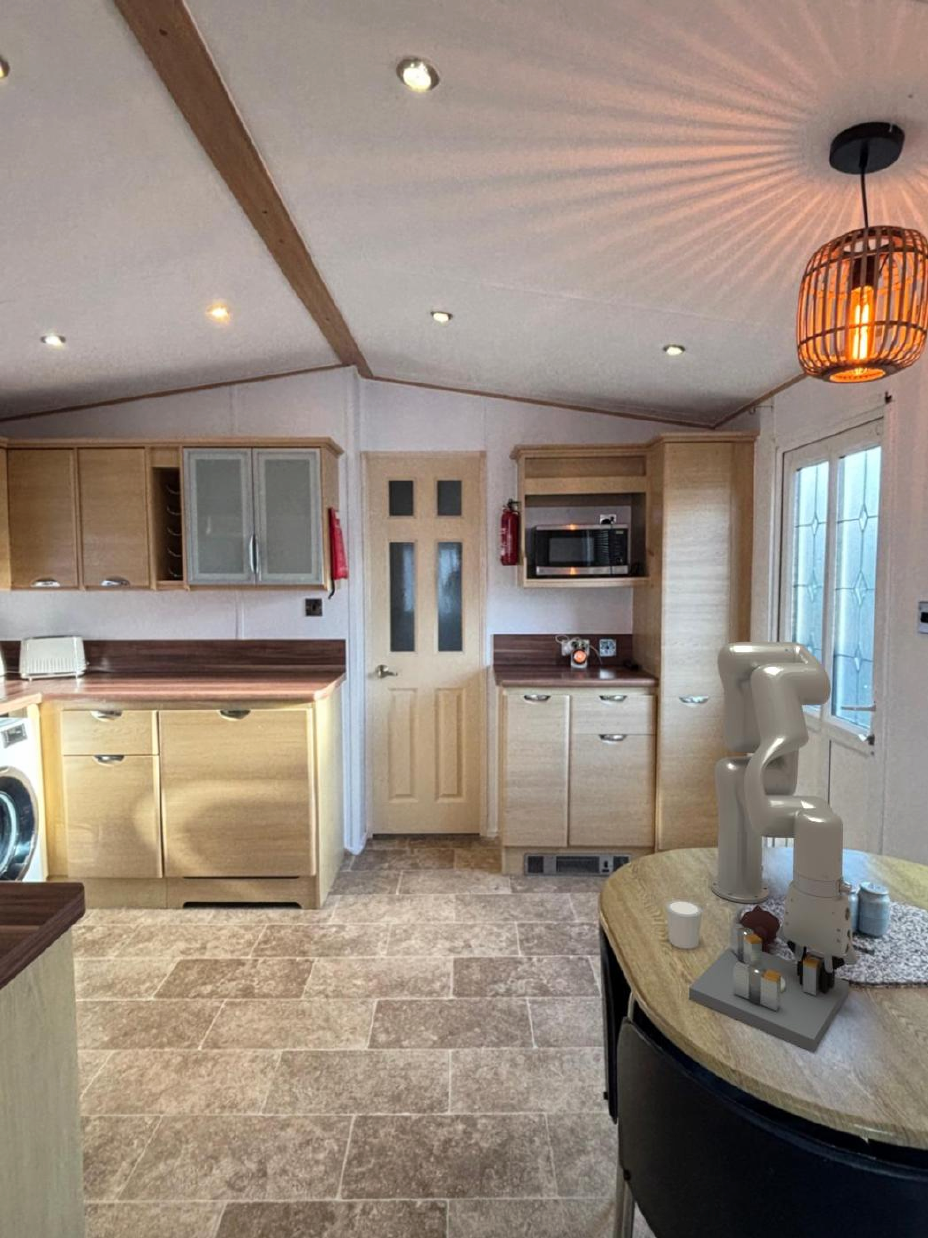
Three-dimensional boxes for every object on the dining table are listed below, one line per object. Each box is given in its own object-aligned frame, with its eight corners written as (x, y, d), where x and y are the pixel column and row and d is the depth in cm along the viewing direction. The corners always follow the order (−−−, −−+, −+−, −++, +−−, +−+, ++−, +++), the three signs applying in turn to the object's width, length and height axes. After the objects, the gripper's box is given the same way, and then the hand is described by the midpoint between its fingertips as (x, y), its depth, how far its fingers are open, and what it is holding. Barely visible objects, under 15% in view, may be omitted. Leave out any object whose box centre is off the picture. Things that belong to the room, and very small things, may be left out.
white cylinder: (704, 952, 132) (704, 917, 132) (667, 949, 134) (667, 914, 133) (699, 934, 139) (699, 901, 139) (664, 931, 140) (664, 898, 140)
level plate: (734, 951, 132) (734, 935, 132) (848, 993, 119) (849, 975, 118) (689, 998, 118) (689, 980, 118) (813, 1052, 104) (813, 1031, 104)
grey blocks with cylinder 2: (812, 972, 121) (813, 943, 121) (830, 978, 119) (830, 949, 119) (800, 990, 116) (800, 960, 116) (818, 996, 114) (818, 966, 114)
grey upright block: (728, 949, 129) (728, 922, 129) (741, 947, 130) (742, 920, 129) (749, 969, 122) (749, 941, 122) (763, 968, 123) (763, 940, 122)
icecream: (734, 891, 144) (738, 932, 130) (771, 888, 141) (779, 929, 127) (743, 922, 144) (747, 966, 130) (780, 919, 141) (788, 964, 127)
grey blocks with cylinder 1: (732, 994, 115) (732, 964, 115) (738, 987, 117) (739, 957, 117) (775, 1012, 110) (775, 980, 110) (781, 1004, 112) (781, 973, 112)
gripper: (877, 890, 113) (874, 996, 115) (776, 862, 125) (775, 958, 126) (864, 906, 108) (861, 1017, 109) (760, 875, 120) (759, 976, 121)
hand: (815, 984), depth 118 cm, fingers closed on grey blocks with cylinder 2, 2 cm apart
